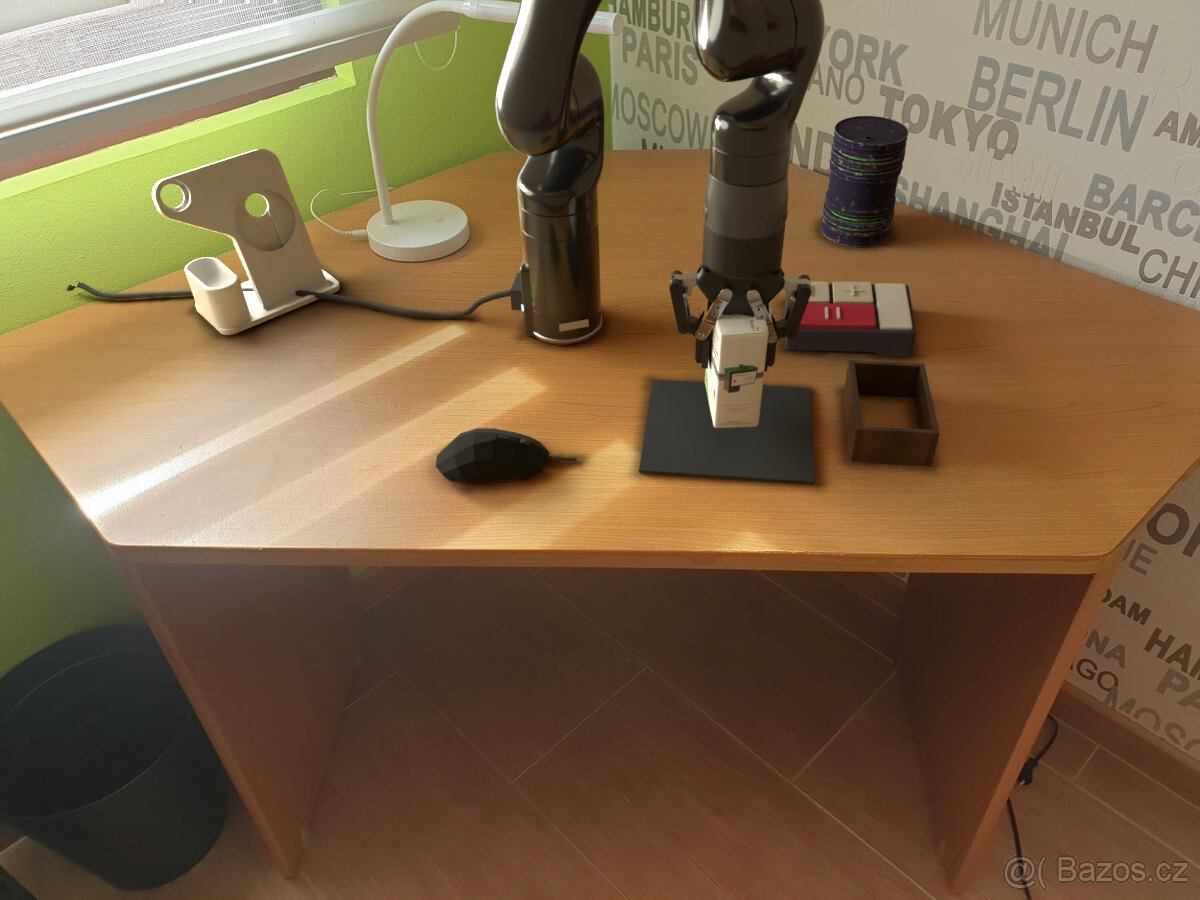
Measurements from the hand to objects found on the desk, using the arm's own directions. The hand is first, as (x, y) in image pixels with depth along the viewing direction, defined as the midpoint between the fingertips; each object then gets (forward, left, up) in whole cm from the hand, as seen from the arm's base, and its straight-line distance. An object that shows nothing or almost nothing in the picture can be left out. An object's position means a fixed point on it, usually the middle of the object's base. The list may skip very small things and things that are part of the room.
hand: (733, 365), depth 99 cm
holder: (+17, +2, -9) cm, 19 cm away
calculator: (+14, +21, -9) cm, 27 cm away
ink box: (0, 0, -5) cm, 5 cm away
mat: (0, 0, -9) cm, 9 cm away
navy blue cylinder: (+17, +47, -9) cm, 51 cm away
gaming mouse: (-23, -8, -9) cm, 26 cm away
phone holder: (-62, +22, -9) cm, 66 cm away
